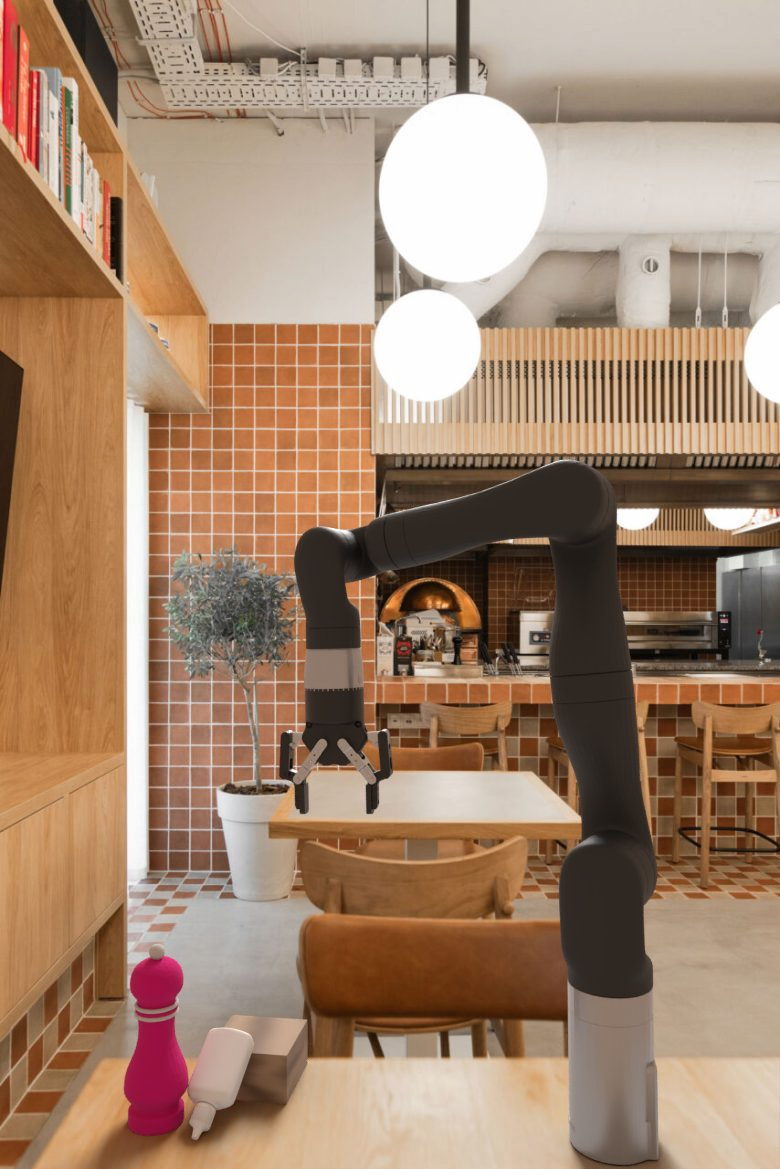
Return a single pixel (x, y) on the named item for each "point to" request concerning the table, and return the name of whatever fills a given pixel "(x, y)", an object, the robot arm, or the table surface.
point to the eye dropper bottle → (218, 1075)
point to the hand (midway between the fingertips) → (337, 813)
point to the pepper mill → (156, 1048)
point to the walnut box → (272, 1057)
